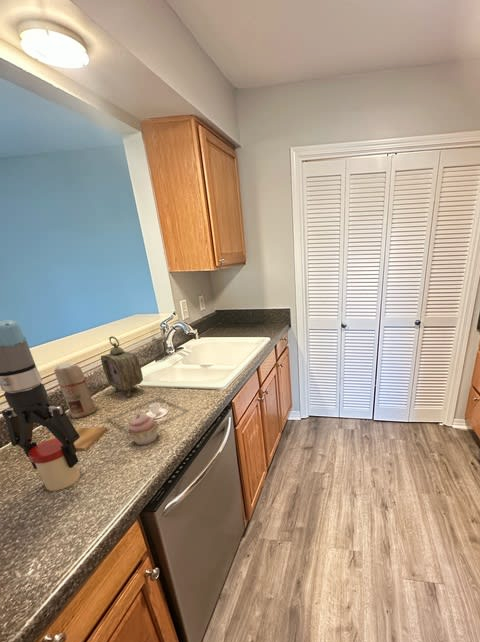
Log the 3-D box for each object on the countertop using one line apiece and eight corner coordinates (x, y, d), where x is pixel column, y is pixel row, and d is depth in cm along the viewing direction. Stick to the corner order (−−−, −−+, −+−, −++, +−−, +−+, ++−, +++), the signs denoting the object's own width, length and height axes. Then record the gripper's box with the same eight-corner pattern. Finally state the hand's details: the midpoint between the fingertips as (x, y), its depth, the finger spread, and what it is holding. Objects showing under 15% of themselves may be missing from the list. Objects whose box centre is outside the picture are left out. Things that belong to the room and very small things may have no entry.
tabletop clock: (110, 392, 141) (93, 337, 131) (130, 385, 148) (115, 331, 138) (127, 400, 133) (111, 341, 123) (148, 391, 140) (133, 335, 130)
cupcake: (125, 441, 104) (117, 414, 100) (153, 429, 110) (146, 403, 106) (138, 452, 98) (129, 424, 94) (167, 438, 105) (160, 411, 101)
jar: (38, 491, 84) (22, 458, 80) (59, 472, 91) (46, 440, 87) (67, 491, 84) (53, 457, 80) (86, 471, 91) (74, 439, 87)
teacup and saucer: (150, 423, 114) (147, 413, 113) (138, 417, 119) (136, 407, 117) (172, 413, 121) (170, 403, 119) (160, 407, 125) (158, 398, 124)
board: (36, 452, 101) (34, 449, 101) (62, 431, 112) (61, 428, 112) (85, 450, 100) (84, 447, 100) (107, 430, 111) (106, 427, 111)
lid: (78, 443, 88) (76, 437, 87) (55, 463, 80) (53, 456, 79) (48, 444, 88) (45, 438, 87) (22, 464, 80) (19, 457, 79)
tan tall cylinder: (65, 417, 122) (46, 367, 114) (84, 407, 129) (67, 360, 121) (82, 420, 119) (64, 369, 111) (101, 409, 126) (85, 361, 118)
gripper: (-36, 395, 73) (5, 475, 82) (56, 392, 73) (87, 472, 82) (-7, 382, 80) (28, 457, 89) (77, 379, 79) (104, 455, 89)
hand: (56, 465), depth 85 cm, fingers closed on lid, 8 cm apart
